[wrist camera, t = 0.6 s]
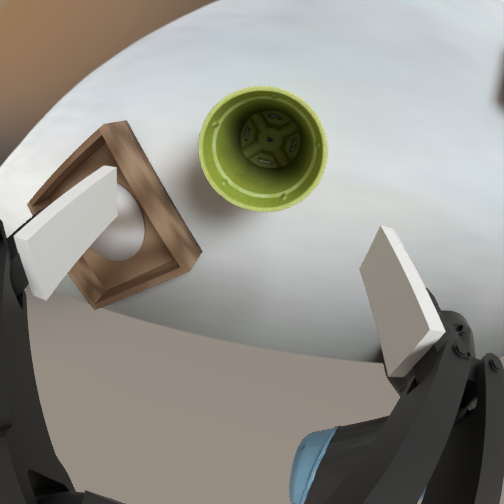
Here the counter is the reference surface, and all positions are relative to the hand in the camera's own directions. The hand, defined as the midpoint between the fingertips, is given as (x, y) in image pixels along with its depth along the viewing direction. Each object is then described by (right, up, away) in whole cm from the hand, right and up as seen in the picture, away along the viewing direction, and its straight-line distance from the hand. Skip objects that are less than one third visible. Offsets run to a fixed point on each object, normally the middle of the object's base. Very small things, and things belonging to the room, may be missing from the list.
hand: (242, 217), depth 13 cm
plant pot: (+2, +10, +14) cm, 17 cm away
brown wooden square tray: (-18, +3, +21) cm, 27 cm away
